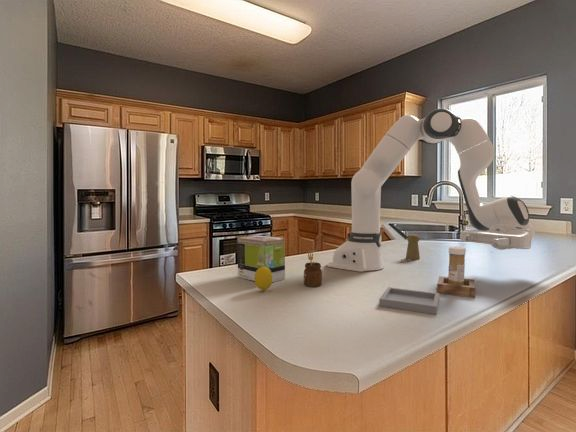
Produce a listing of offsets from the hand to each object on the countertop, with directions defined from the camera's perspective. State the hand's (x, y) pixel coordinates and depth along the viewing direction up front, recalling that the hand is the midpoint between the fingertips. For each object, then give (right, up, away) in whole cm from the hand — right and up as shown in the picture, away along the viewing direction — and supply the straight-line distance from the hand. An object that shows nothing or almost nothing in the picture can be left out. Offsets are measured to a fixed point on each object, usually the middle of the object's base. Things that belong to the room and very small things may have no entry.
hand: (480, 240), depth 107 cm
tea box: (-72, -15, +12) cm, 74 cm away
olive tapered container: (-6, -12, +43) cm, 45 cm away
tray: (-29, -16, -16) cm, 36 cm away
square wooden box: (-11, -15, -5) cm, 19 cm away
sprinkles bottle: (-11, -15, -5) cm, 19 cm away
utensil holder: (-54, -15, +3) cm, 56 cm away
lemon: (-70, -16, -4) cm, 71 cm away
